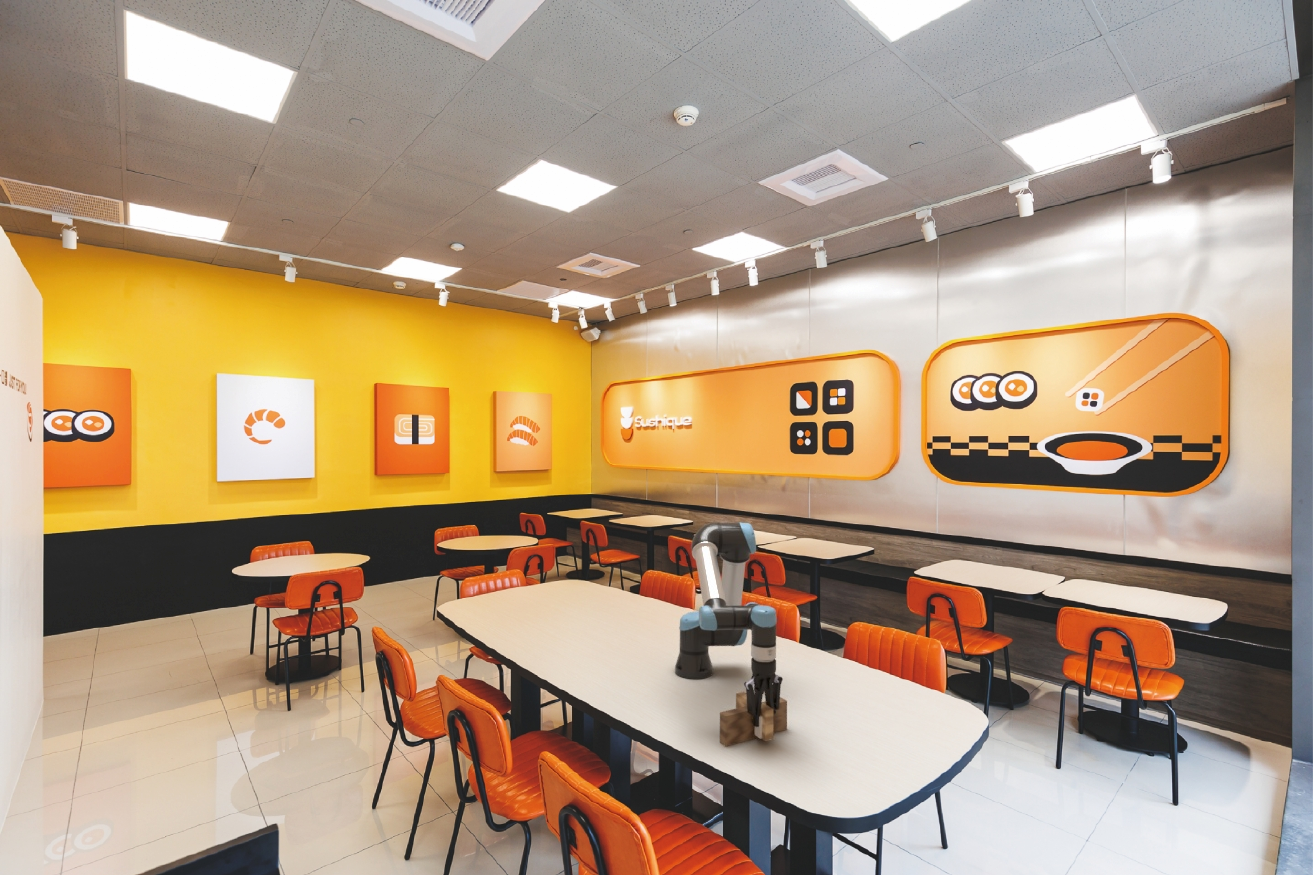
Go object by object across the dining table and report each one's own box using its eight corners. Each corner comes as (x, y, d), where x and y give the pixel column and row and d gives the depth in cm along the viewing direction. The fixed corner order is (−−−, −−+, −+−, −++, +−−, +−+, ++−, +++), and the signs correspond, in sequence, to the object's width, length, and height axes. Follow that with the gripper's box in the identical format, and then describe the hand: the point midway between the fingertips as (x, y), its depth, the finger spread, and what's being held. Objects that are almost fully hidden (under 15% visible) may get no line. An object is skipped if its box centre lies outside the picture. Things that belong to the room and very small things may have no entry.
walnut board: (725, 746, 182) (725, 716, 182) (719, 741, 185) (719, 712, 185) (786, 729, 194) (787, 700, 194) (780, 725, 196) (780, 697, 196)
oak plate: (773, 738, 183) (773, 709, 184) (765, 741, 182) (765, 711, 182) (743, 718, 197) (743, 691, 197) (735, 720, 195) (736, 692, 195)
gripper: (750, 666, 178) (749, 746, 178) (792, 657, 186) (791, 734, 186) (735, 658, 185) (734, 735, 185) (776, 650, 193) (775, 724, 192)
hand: (763, 734), depth 185 cm, fingers closed on oak plate, 3 cm apart
